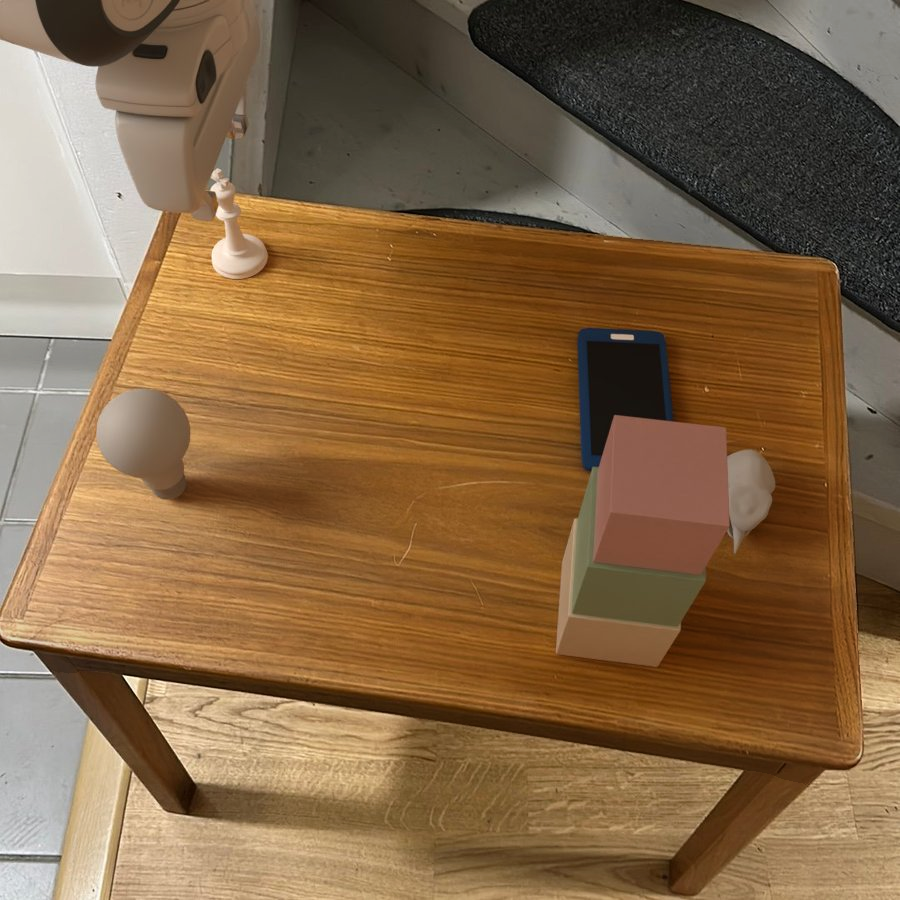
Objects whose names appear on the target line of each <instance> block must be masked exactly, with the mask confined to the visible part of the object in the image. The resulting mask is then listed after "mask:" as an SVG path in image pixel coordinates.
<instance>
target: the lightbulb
mask: <svg viewBox="0 0 900 900" xmlns="http://www.w3.org/2000/svg"><path fill="white" fill-rule="evenodd" d="M95 436H96V442H97V447H98V450H99V451H100V454H101V456H102V457H103V458H104V460H105V461H106V462H107V463H108V464H109V466H111V467H112V468H114V469H115V470H116V471H117V472H119V473H121V474H123V475H126V476H130V477H134V478H137V479H141V481H142V482H143V484H144V485H146V487H148V488H150V489H151V491H152V492H153V494H154V495H155V496H156V497H157V498H159V499H161V500H165V501H166V500H167V501H168V500H174V499H176V498H178V497H180V496H181V495H182V494H184V492H185V490H186V487H187V478H186V475H185V464H184V460H183V459H184V457H185V455H186V453H187V451H188V449H189V446H190V442H191V425H190V420H189V418H188V415H187V413H186V411H185V410H184V408H183V407H182V406H181V405H180V403H179V402H178V401H177V400H176V399H174V398H173V397H172V396H170V395H169V394H167V393H165V392H163V391H161V390H157V389H154V388H145V387H144V388H134V389H130V390H126V391H124V392H121V393H120V394H118V395H116V396H115V397H113V398H112V399H111V400H110V401H108V403H107V404H106V405H105V406H104V407H103V409H102V411H101V413H100V415H99V416H98V420H97V423H96V434H95Z"/></svg>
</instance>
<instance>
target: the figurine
mask: <svg viewBox="0 0 900 900" xmlns="http://www.w3.org/2000/svg"><path fill="white" fill-rule="evenodd" d="M727 464H728V491H729V518H730V527H729V528H728V530H727V532H726V533H727V535H728V536H729V537H730V538H732V539H733V555H736V554H737V552H738V551H739V548H740V546H741V543H742V541H743V539H744V538H745V537H747V536H748V535H749V534H750V533H751V531H752V530H754V529H755V528H757V526H758V525H760V523H761V522H763V521H764V520H765V519H766V518H767V516H768V515H769V511H770V508H771V506H772V503H773V496H772V493H773V492H774V491H775V489H776V478H775V476H774V473H773V471H772V468H771V466H770V464H769V463H768V462H767V460H766V458H765V457H764V456H763V455H762V454H761V453H760V452H759V451H757V450H754V449H750V448H749V449H742V450H739V451H736V452H733V453H731V454H729V455H727Z"/></svg>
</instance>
